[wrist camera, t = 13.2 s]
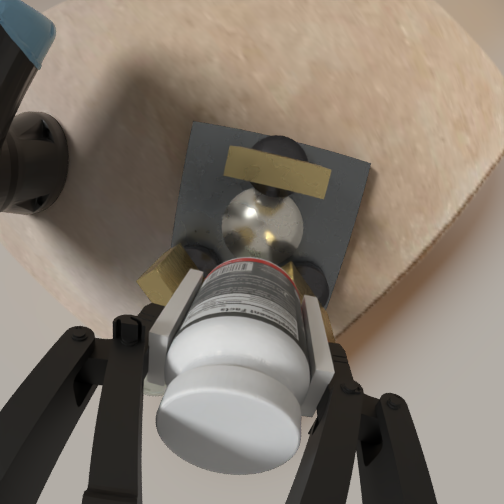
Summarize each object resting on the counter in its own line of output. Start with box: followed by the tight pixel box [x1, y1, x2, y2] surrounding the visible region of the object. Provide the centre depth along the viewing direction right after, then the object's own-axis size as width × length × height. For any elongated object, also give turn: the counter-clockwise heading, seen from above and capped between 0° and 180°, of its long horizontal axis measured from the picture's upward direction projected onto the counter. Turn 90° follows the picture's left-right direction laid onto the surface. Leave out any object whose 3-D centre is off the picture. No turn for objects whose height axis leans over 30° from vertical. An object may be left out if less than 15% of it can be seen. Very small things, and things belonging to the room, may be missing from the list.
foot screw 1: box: [136, 243, 221, 306], centre depth 33 cm, size 8×6×10 cm
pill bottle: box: [156, 257, 310, 475], centre depth 13 cm, size 6×6×10 cm
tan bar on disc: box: [281, 261, 335, 343], centre depth 32 cm, size 8×6×11 cm
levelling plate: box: [171, 121, 371, 311], centre depth 36 cm, size 20×20×3 cm
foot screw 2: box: [223, 135, 331, 199], centre depth 28 cm, size 8×6×10 cm
